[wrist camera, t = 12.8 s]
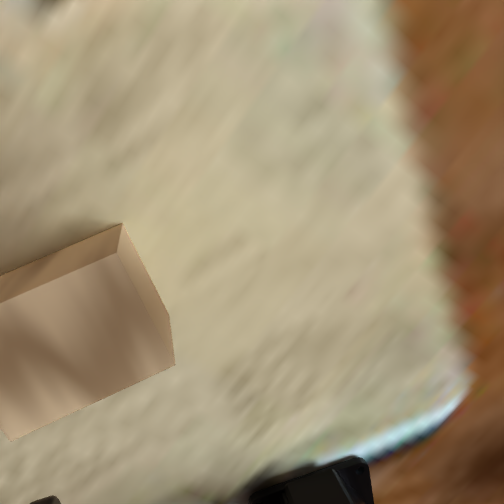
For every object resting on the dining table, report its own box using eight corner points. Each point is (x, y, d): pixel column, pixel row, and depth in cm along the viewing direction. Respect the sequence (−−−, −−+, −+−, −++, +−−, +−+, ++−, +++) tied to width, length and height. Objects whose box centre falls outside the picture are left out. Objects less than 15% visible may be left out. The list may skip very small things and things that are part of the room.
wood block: (175, 364, 16) (10, 441, 15) (169, 313, 20) (39, 372, 20) (116, 252, 14) (-69, 333, 14) (122, 222, 19) (-19, 283, 18)
